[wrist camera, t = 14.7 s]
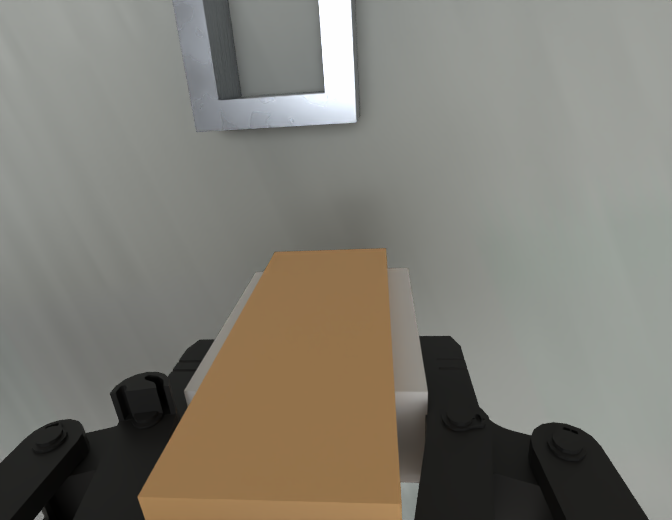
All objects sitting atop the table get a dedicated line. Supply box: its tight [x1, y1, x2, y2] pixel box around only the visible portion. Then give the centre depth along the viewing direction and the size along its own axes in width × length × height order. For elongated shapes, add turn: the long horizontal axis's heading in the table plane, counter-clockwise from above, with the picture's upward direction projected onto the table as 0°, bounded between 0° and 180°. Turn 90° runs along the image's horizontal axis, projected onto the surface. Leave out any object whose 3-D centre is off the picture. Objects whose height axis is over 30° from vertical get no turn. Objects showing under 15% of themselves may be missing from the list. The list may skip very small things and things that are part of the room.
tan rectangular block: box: [138, 248, 402, 520], centre depth 12 cm, size 4×4×10 cm
